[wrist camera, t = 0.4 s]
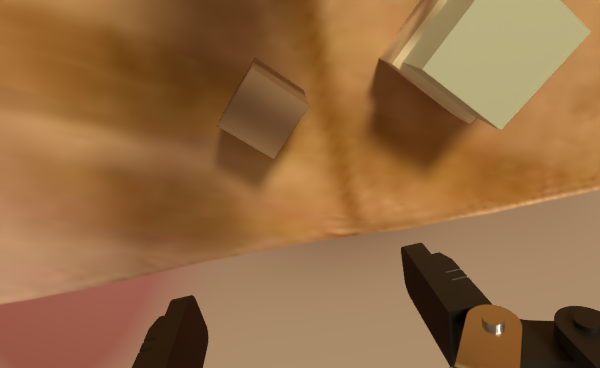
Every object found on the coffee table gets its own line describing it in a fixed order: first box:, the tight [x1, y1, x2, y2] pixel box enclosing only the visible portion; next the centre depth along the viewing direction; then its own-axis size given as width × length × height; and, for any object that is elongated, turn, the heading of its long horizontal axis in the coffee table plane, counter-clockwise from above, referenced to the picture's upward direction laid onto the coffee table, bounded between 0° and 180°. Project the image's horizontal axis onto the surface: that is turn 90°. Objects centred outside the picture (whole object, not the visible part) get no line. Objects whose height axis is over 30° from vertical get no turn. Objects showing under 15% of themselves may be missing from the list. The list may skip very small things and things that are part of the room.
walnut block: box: [217, 58, 309, 159], centre depth 28 cm, size 5×5×6 cm
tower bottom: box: [379, 0, 476, 124], centre depth 28 cm, size 9×9×4 cm
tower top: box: [403, 0, 591, 130], centre depth 25 cm, size 8×8×4 cm
